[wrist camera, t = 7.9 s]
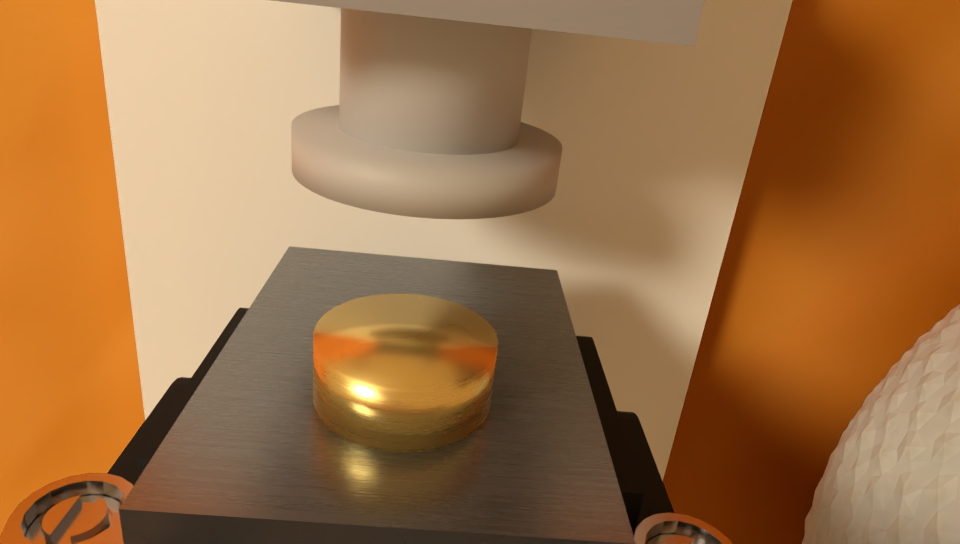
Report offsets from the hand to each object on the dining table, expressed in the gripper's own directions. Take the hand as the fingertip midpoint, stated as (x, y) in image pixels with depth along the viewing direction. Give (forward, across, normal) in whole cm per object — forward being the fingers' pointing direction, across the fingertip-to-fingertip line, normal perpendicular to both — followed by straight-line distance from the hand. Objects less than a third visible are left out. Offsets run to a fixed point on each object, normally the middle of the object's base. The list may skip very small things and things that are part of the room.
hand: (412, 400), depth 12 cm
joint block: (+1, 0, 0) cm, 1 cm away
